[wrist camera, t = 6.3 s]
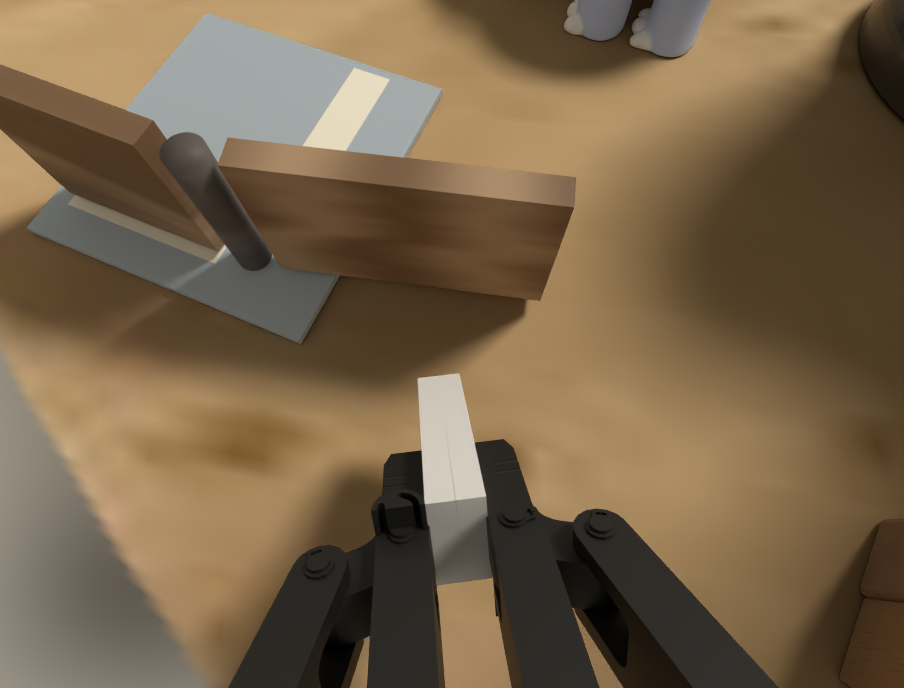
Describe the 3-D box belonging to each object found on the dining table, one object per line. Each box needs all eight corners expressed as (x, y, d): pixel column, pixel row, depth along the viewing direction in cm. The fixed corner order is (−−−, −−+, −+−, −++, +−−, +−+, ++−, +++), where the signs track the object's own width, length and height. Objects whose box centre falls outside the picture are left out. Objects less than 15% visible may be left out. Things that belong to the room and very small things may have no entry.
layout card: (209, 19, 31) (206, 12, 30) (442, 95, 29) (441, 88, 28) (32, 232, 26) (25, 227, 25) (300, 344, 23) (298, 341, 23)
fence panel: (280, 267, 24) (217, 165, 18) (287, 245, 24) (227, 137, 18) (540, 300, 23) (574, 207, 17) (542, 277, 24) (576, 177, 17)
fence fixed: (96, 180, 27) (-35, 46, 19) (281, 252, 25) (212, 136, 18) (77, 204, 26) (-66, 76, 19) (264, 279, 25) (186, 171, 17)
